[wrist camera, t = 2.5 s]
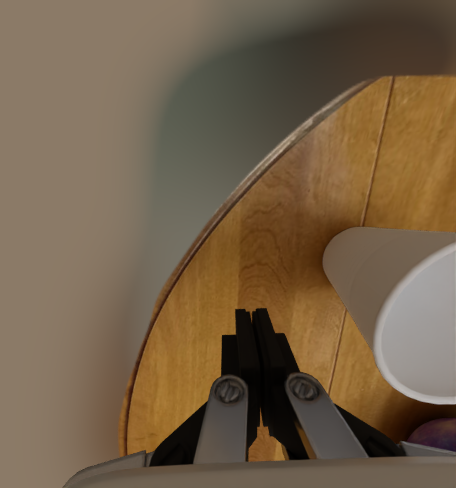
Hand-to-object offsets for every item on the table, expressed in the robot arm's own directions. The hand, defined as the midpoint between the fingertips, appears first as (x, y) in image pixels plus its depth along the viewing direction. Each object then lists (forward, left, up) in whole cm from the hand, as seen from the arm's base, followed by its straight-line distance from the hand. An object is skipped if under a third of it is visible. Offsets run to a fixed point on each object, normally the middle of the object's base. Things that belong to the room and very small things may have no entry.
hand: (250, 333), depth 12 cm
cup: (0, +11, -10) cm, 15 cm away
